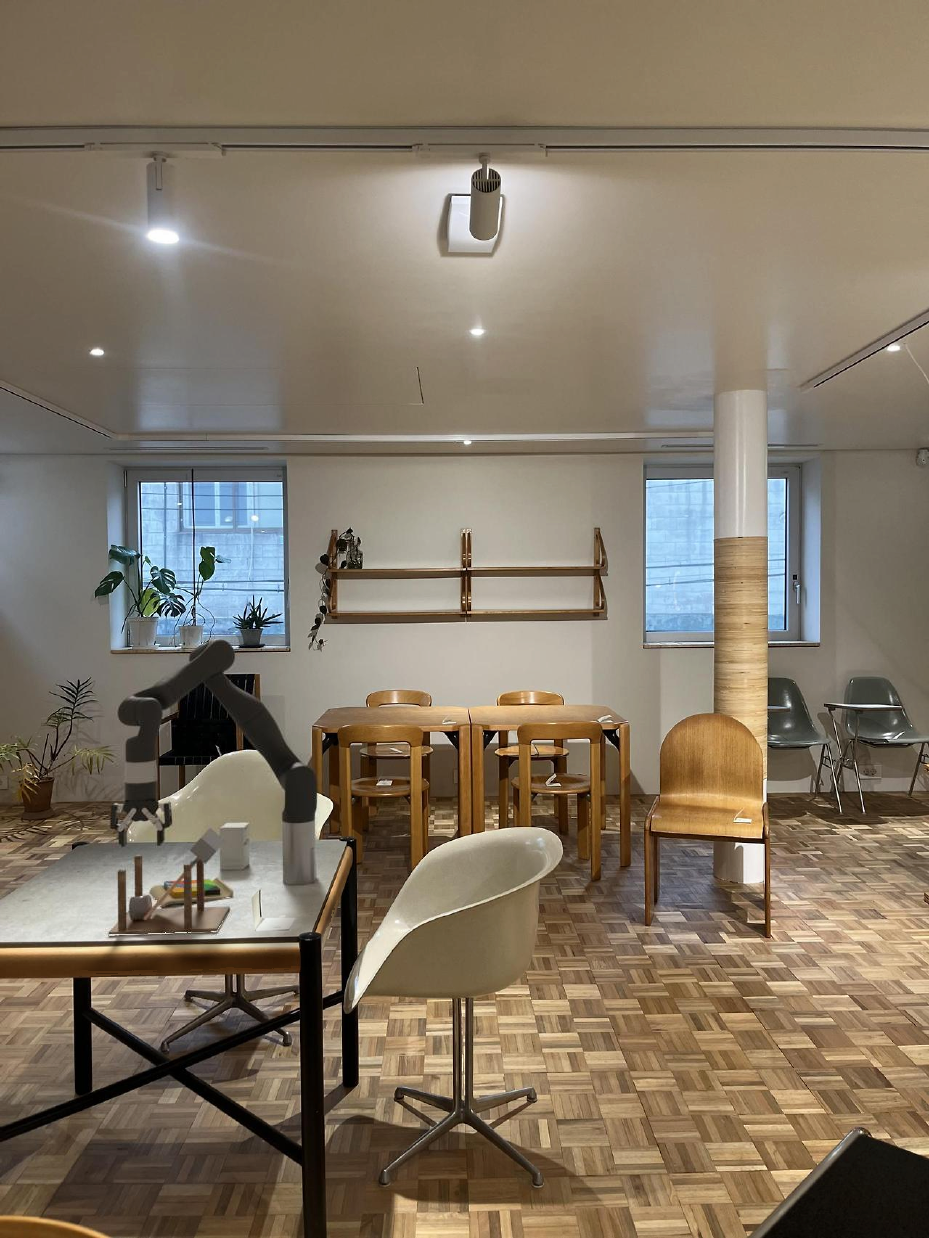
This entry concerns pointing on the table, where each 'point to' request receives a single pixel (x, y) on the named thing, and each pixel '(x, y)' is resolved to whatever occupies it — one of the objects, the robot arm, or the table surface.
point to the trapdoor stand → (173, 917)
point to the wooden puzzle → (211, 891)
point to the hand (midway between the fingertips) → (141, 845)
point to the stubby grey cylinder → (139, 907)
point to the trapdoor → (196, 859)
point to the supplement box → (234, 846)
